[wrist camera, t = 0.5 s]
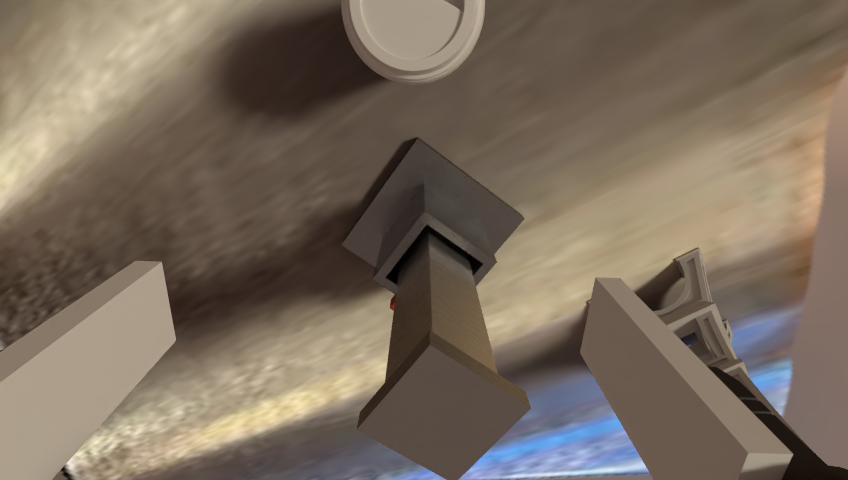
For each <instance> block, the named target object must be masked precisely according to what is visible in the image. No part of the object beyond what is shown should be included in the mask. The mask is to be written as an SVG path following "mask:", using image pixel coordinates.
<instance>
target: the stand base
mask: <svg viewBox="0 0 848 480" xmlns="http://www.w3.org/2000/svg"><path fill="white" fill-rule="evenodd" d="M523 220H524V217H523V216H522V215H521V214H520V213H519V212H517V211H516V210H515V209H513V208H512V207H511V206H509V205H508V204H507V203H505V202H504V201H503V200H501V199H500V198H499V197H497V196H496V195H495V194H493V193H492V192H491V191H489V190H488V189H487V188H485V187H484V186H483V185H481V184H480V183H479V182H477V181H476V180H475V179H473V178H472V177H471V176H469V175H468V174H466V173H465V172H464V171H462V170H461V169H460V168H458V167H457V166H456V165H454V164H453V163H452V162H450V161H449V160H448V159H446V158H445V157H444V156H442V155H441V154H440V153H438V152H437V151H436V150H434V149H433V148H432V147H430V146H429V145H428V144H426V143H425V142H424V141H422V140H421V139H420V138H418V137H417V138H416V140H415V141H414V143H413V144H412V145H411V147H410V148H409V150H408V151H407V152H406V154H405V155H404V157H403V158H402V159H401V161H400V162H399V164H398V165H397V166H396V168H395V169H394V171H393V172H392V173H391V175H390V176H389V178H388V179H387V180H386V182H385V183H384V185H383V186H382V187H381V189H380V190H379V192H378V193H377V194H376V196H375V197H374V199H373V200H372V201H371V203H370V204H369V206H368V207H367V208H366V210H365V211H364V213H363V214H362V215H361V217H360V218H359V220H358V221H357V222H356V224H355V225H354V227H353V228H352V229H351V231H350V232H349V234H348V235H347V236H346V238H345V239H344V241H343V243H342V246H343V247H345V248H346V249H348V250H349V251H351V252H352V253H354V254H355V255H357V256H358V257H360V258H361V259H363V260H365V261H366V262H368V263H369V264H371V265H372V266H374V267H375V271H374V275H373V279H372V280H374V281H375V282H377V283H379V284H380V285H382V286H383V287H385V288H386V289H388V290H389V291H391V292H392V293H394V294H395V295H394V296H393V298H392V299H391V304H390V309H392V310H394V306H395V298H396V290H397V282H398V274H399V266H400V258H401V257H402V255H403V254H404V253H405V252H406V250H407V249H408V248H409V246H410V245H411V244H412V243H413V241H414V240H415V239H416V237H417V236H418V235H419V234H420V232H421V231H422V230H423V228H424V227H425V226H426V224H427V225H429V226H430V227H432V228H433V229H434V230H436V231H437V232H439V233H440V234H442V235H443V236H444V237H446V238H447V239H449V240H450V241H452V242H453V243H454V244H456V245H457V246H459V247H460V248H462V249H463V250H464V251H466V252H467V254H468V258H469V262H470V266H471V270H472V274H473V278H474V282H475V286H477V285H478V283H479V282H480V281H481V280H482V279H483V278H484V276H485V275H486V274H487V273H488V272H489V271H490V269H491V268H492V267H493V266H494V265H495V264H496V262H497V261H496V259H495V256H494V254H495V253H496V252H497V250H498V249H499V248H500V247H501V246H502V244H503V243H504V242H505V241H506V240H507V239H508V237H509V236H510V235H511V234H512V233H513V232H514V230H515V229H516V228H517V227H518V226H519V225H520V223H521V222H522V221H523Z"/></svg>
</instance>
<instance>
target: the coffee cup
mask: <svg viewBox="0 0 848 480" xmlns="http://www.w3.org/2000/svg"><path fill="white" fill-rule="evenodd" d="M341 10H342V18H343V23H344V27H345V30H346V33H347V36H348V38H349V41H350V43H351V45H352V46H353V48H354V50H355V51H356V53H357V54H358V56H359V57H360V58H361V59H362V61H363V62H364V63H365V64H366V65H367V66H368V67H370V68H371V69H372V70H373V71H375V72H376V73H378V74H379V75H381V76H383V77H384V78H387V79H389V80H391V81H394V82H398V83H403V84H425V83H429V82H433V81H436V80H438V79H441V78H443V77H445V76H447V75H448V74H450V73H451V72H453V71H454V70H455V69H456V68H458V67H459V66H460V65H461V64H462V63H463V62H464V61H465V59H466V58H467V57H468V56H469V54H470V53H471V51H472V50H473V48H474V46H475V44H476V42H477V40H478V38H479V35H480V32H481V29H482V25H483V20H484V13H485V0H341Z"/></svg>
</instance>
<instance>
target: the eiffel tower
mask: <svg viewBox="0 0 848 480" xmlns="http://www.w3.org/2000/svg"><path fill="white" fill-rule="evenodd" d="M675 260H676V263H677V265H678V267H679V270H680V272H681V275H682V277H683V278H685V286H684V290H683V292H682V294H681V296H680V297H679V299H678V300H677V301H676V302H675V303H673V304H672V305H670V306H669V307H667V308H665V309H662V310H658V311H653V312H654V313H655V314H656V315H657V316H658V317H659V318H660V319H661V320H662V321H663V322H664V323H665V324H666V325H667V326H668V328H669V329H670V330H671V331H672V332H673V333H674V334H675V335H676V336H677V337H678V338H679V339H680V338H682V337H685V336H687V335H689V334H691V333H694V332H695V333H696V336H697V341H696V342H695V343H694V344H692V345H691V346H689V347H688V348H689V349H690V350H691V351H692V352H693V353H694V354H695V355H696V356H697V357H698V358H699V359H700V360H701V361H702V362H703V363H704V364H705V365H706V366H707V367H717V368H719V369H721V370H722V371H724V372H726V373H727V374H729V375H730V376H732V377H734V378H735V379H737V380H738V381H740V382H741V383H742V384H743V385H744V386H745V387H746V388H747V389H748V390H749V391H750V392H751V393H752V394H753V395H754V396H756V397H757V401H761V402H762V403H763V404H764V405H765V406H766V407H767V408H768V409H769V410H770V411H771V414H772V415H775V416H776V417H777V418H778V419H780V420H781V421H782V422H783V423H784V424H785V425H786V426H787V427H788V428H789V429H790V430H791V431H792V432H793V433H794V434H795V435H796V436H797V437H798V438H799V439H800V440H801V441H803V440H802V439H801V438H800V437H799V436H798V435H797V434H796V433H795V431H794V430H793V429H792V428H791V427H790V426H789V425H788V424H787V423H786V421H785V420H784V419H783V418H782V417H781V416H780V414H779V413H778V412H777V411H776V410H775V409H774V408H773V406H772V405H771V404H770V403H769V402H768V400H767V399H766V398H765V397H764V396H763V394H762V393H761V392H760V391H759V390H758V388H757V387H756V386H755V385H754V384H753V382H752V381H751V380H750V378H749V375H748V373H747V370H746V368H745V365H744V362H743V361H742V360H741V359H740V358H739V359H737V357H736V355H735V352H734V350H733V347H732V345H731V341H732V338H733V337H734V336H733V333H732V331H731V328H730V326H729V323H728V321H727V320H726V319H725V320H723V321H722V319H721V317H720V314H719V312H718V309H717V307H716V304H715V303H714V302H712V299H711V295H710V291H709V287H708V283H707V278H706V273H705V268H706V265H705V262H704V260H703V257H702V254H701V252H700V249H699V248H696V249H694V250H692V251H690V252H687V253H685V254H683V255H681V256H679V257H677V258H675ZM590 302H591V300H589V301H588V303H589V305H590Z"/></svg>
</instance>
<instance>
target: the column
mask: <svg viewBox="0 0 848 480" xmlns="http://www.w3.org/2000/svg"><path fill="white" fill-rule="evenodd" d="M530 409H531V407H530V404H529V401H528V398H527V395H526V392H525V391H524V390H523V389H521V388H519V387H518V386H516V385H515V384H513V383H512V382H510V381H508V380H507V379H505V378H504V377H502V376H501V375H499V374H498V373H497V369H496V365H495V361H494V357H493V353H492V349H491V345H490V341H489V337H488V333H487V329H486V325H485V321H484V317H483V314H482V310H481V306H480V302H479V298H478V294H477V290H476V286H475V282H474V278H473V274H472V270H471V266H470V262H469V258H468V254H467V252H466V251H464V250H463V249H462V248H460V247H459V246H457V245H456V244H454V243H453V242H452V241H450V240H449V239H447V238H446V237H444V236H443V235H442V234H440V233H439V232H437V231H436V230H434V229H433V228H432V227H430V226H429V225H427V224H426V226H425V227H424V228H423V230H422V231H421V232H420V234H419V235H418V236H417V237H416V239H415V240H414V241H413V243H412V244H411V245H410V246H409V248H408V249H407V250H406V252H405V253H404V254H403V255H402V257H401V258H400V266H399V274H398V282H397V290H396V298H395V306H394V314H393V322H392V330H391V338H390V346H389V355H388V363H387V371H386V379H385V383H384V384H383V386H382V387H381V388H380V389H379V390H378V392H377V393H376V394H375V395H374V396H373V397H372V399H371V400H370V401H369V402H368V403H367V404H366V406H365V407H364V408H363V409H362V410H361V411H360V415H359V420H358V425H357V430H358V431H360V432H362V433H364V434H365V435H367V436H369V437H371V438H373V439H374V440H376V441H378V442H380V443H382V444H383V445H385V446H387V447H389V448H391V449H392V450H394V451H396V452H398V453H400V454H402V455H403V456H405V457H407V458H409V459H411V460H412V461H414V462H416V463H418V464H420V465H421V466H423V467H425V468H427V469H429V470H430V471H432V472H434V473H436V474H438V475H439V476H441V477H443V478H445V479H447V480H458V479H459V478H460V477H461V476H462V475H463V474H464V473H465V472H467V471H468V470H469V469H470V468H471V467H472V466H473V465H474V464H475V463H476V462H477V461H478V460H479V459H480V458H481V457H482V456H483V455H484V454H485V453H486V452H487V451H488V450H489V449H490V448H491V447H492V446H493V445H494V444H495V443H496V442H497V441H498V440H499V439H500V438H501V437H502V436H503V435H504V434H505V433H506V432H507V431H508V430H509V429H510V428H511V427H512V426H513V425H514V424H515V423H516V422H517V421H518V420H519V419H520V418H521V417H522V416H523V415H525V414H526V413H527V412H528V411H529V410H530Z"/></svg>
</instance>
